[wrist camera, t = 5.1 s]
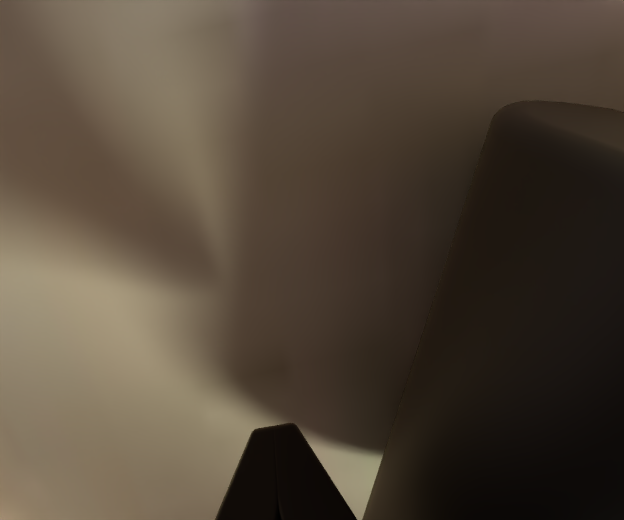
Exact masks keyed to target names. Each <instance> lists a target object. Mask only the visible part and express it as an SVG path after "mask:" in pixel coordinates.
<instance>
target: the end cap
mask: <svg viewBox="0 0 624 520" xmlns="http://www.w3.org/2000/svg"><path fill="white" fill-rule="evenodd" d="M362 520H624V113H623V112H620V111H617V110H613V109H608V108H601V107H594V106H588V105H580V104H571V103H563V102H550V101H521V102H517V103H513V104H510V105H507V106H505V107H503V108H502V109H500V110H499V111H498V112H497V113H496V114H495V115H494V117H493V119H492V121H491V124H490V127H489V130H488V133H487V136H486V139H485V142H484V145H483V148H482V152H481V155H480V158H479V161H478V164H477V167H476V170H475V173H474V176H473V179H472V182H471V186H470V189H469V192H468V195H467V198H466V201H465V204H464V207H463V210H462V213H461V216H460V220H459V223H458V226H457V229H456V232H455V235H454V238H453V241H452V244H451V247H450V250H449V254H448V257H447V260H446V263H445V266H444V269H443V272H442V275H441V278H440V281H439V284H438V288H437V291H436V294H435V297H434V300H433V303H432V306H431V309H430V312H429V315H428V318H427V322H426V325H425V328H424V331H423V334H422V337H421V340H420V343H419V346H418V349H417V352H416V356H415V359H414V362H413V365H412V368H411V371H410V374H409V377H408V380H407V383H406V386H405V390H404V393H403V396H402V399H401V402H400V405H399V408H398V411H397V414H396V417H395V420H394V424H393V427H392V430H391V433H390V436H389V439H388V442H387V445H386V448H385V451H384V454H383V458H382V461H381V464H380V467H379V470H378V473H377V476H376V479H375V482H374V485H373V488H372V492H371V495H370V498H369V501H368V504H367V507H366V510H365V513H364V516H363V519H362Z"/></svg>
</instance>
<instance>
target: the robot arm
mask: <svg viewBox="0 0 624 520" xmlns="http://www.w3.org/2000/svg"><path fill="white" fill-rule="evenodd" d="M215 520H357V519H356V517H355V516H354V514H353V512H352V511H351V509H350V508H349V506H348V505H347V503H346V502H345V500H344V498H343V497H342V495H341V494H340V492H339V491H338V489H337V487H336V486H335V484H334V483H333V481H332V480H331V478H330V477H329V475H328V473H327V472H326V470H325V469H324V467H323V466H322V464H321V463H320V461H319V459H318V458H317V456H316V455H315V453H314V452H313V450H312V448H311V447H310V445H309V444H308V442H307V441H306V439H305V438H304V436H303V434H302V433H301V431H300V430H299V428H298V427H297V425H296V424H294V423H286V424H281V425H275V426H269V427H264V428H258V429H255V430H254V431H253V432H252V433H251V435H250V437H249V440H248V442H247V445H246V447H245V449H244V452H243V454H242V456H241V459H240V461H239V464H238V466H237V468H236V471H235V473H234V475H233V478H232V480H231V483H230V485H229V487H228V490H227V492H226V494H225V497H224V499H223V502H222V504H221V506H220V509H219V511H218V513H217V516H216V518H215Z"/></svg>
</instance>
